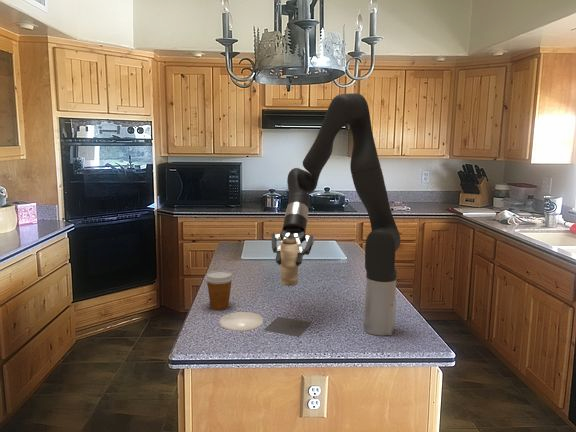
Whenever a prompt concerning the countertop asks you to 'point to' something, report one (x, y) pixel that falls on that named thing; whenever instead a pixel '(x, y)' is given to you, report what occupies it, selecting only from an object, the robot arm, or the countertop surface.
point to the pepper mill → (289, 262)
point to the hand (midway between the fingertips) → (288, 264)
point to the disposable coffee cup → (219, 289)
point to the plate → (241, 321)
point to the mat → (288, 326)
